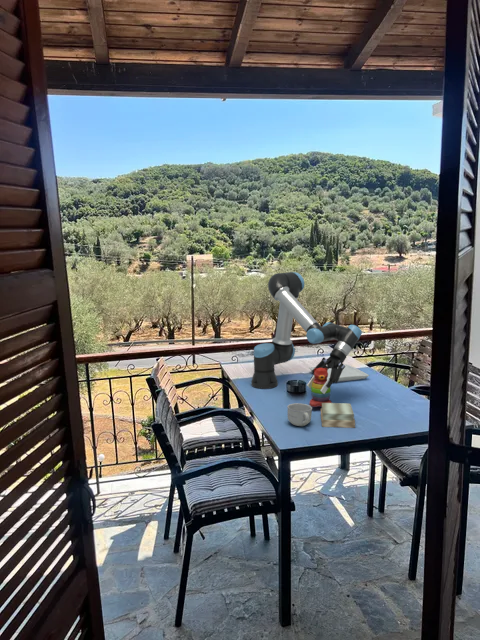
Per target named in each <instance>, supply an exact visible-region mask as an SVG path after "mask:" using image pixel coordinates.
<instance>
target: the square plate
mask: <svg viewBox="0 0 480 640" xmlns="http://www.w3.org/2000/svg"><path fill="white" fill-rule="evenodd" d="M344 365H345V368H344V369H343V371H342V373H341V375H340V378H339V380H338V382H337V383H340V382H351V381H358V380H364V379H367V378H368V377H369V376H370V375H369V374H368V373H366V372H364V371H362V370H360V369H359V368H356V367H354V366H352V365H350V364H347V363H346V364H345V363H344ZM326 366H327V365H326ZM315 367H316V366H313V367H311V366H310V367H309V368H308V369H309V371H311V372H312V370H313V369H314V368H315ZM327 367H328V366H327ZM331 369H332V368H329V369H328V371H327V372H328V377H327V380H329V378H330V374H331ZM337 369H338V368H337ZM329 381H330V380H329Z"/></svg>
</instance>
